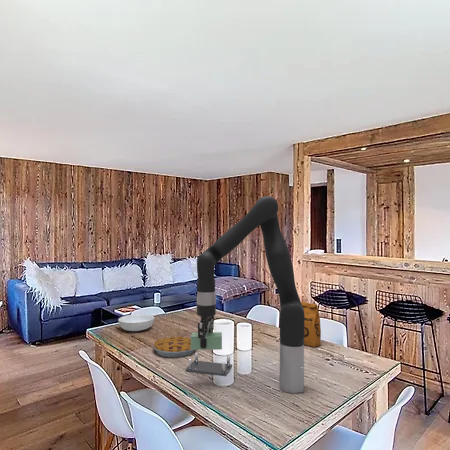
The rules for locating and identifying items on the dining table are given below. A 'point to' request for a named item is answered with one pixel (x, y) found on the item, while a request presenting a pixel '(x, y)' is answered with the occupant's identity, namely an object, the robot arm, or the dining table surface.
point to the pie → (173, 347)
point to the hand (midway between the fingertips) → (206, 345)
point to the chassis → (208, 367)
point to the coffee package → (311, 325)
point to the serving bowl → (136, 322)
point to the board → (207, 341)
